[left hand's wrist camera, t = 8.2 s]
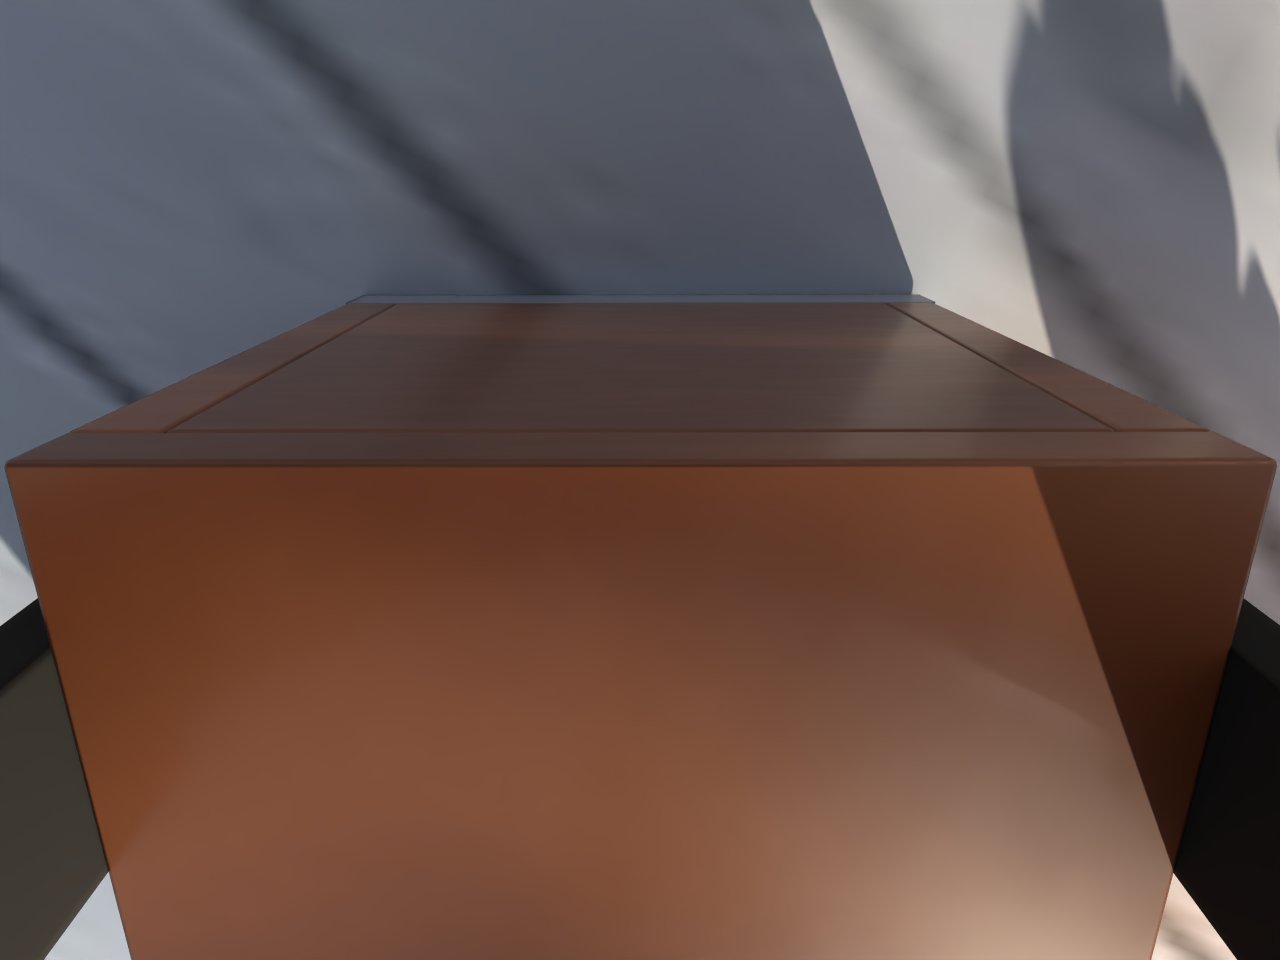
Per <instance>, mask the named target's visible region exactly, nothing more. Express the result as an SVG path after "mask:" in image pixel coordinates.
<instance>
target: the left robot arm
mask: <svg viewBox="0 0 1280 960" xmlns="http://www.w3.org/2000/svg"><path fill="white" fill-rule="evenodd" d="M107 873H108V867H107V863H106V859H105V855H104V851H103V847H102V843H101V840H100V836H99V832H98V828H97V824H96V820H95V816H94V813H93V809H92V805H91V801H90V797H89V793H88V789H87V785H86V782H85V778H84V774H83V770H82V766H81V762H80V758H79V754H78V751H77V747H76V743H75V739H74V735H73V731H72V727H71V723H70V720H69V716H68V712H67V708H66V704H65V700H64V696H63V692H62V689H61V685H60V681H59V677H58V673H57V669H56V665H55V661H54V658H53V654H52V650H51V646H50V642H49V638H48V634H47V630H46V627H45V623H44V619H43V615H42V611H41V607H40V603H39V599H38V598H37V599H36V600H35V601H33V602H32V603H31V604H29V605H28V606H27V607H25V608H24V609H23V610H21V611H20V612H19V613H17V614H16V615H15V616H13V617H12V618H11V619H9V620H8V621H7V622H5V623H4V624H3V625H1V626H0V960H44V959H45V957H46V956H47V955H48V953H49V952H50V951H51V949H52V948H53V946H54V945H55V944H56V942H57V941H58V940H59V938H60V937H61V936H62V934H63V933H64V931H65V930H66V929H67V927H68V926H69V925H70V923H71V922H72V921H73V919H74V918H75V916H76V915H77V914H78V912H79V911H80V910H81V908H82V907H83V906H84V904H85V903H86V901H87V900H88V899H89V897H90V896H91V895H92V893H93V892H94V891H95V889H96V888H97V886H98V885H99V884H100V882H101V881H102V880H103V878H104V877H105V876H106V874H107ZM1173 873H1174V874H1175V876H1176V877H1177V878H1178V880H1179V881H1180V882H1181V884H1182V885H1183V886H1184V888H1185V889H1186V891H1187V892H1188V893H1189V895H1190V896H1191V897H1192V899H1193V900H1194V901H1195V903H1196V904H1197V906H1198V907H1199V908H1200V910H1201V911H1202V912H1203V914H1204V915H1205V916H1206V918H1207V919H1208V921H1209V922H1210V923H1211V925H1212V926H1213V927H1214V929H1215V930H1216V931H1217V933H1218V934H1219V936H1220V937H1221V938H1222V940H1223V941H1224V942H1225V944H1226V945H1227V946H1228V948H1229V949H1230V951H1231V952H1232V953H1233V955H1234V956H1235V957H1236V959H1237V960H1280V625H1278V624H1277V623H1276V622H1274V621H1273V620H1272V619H1270V618H1269V617H1268V616H1266V615H1265V614H1264V613H1262V612H1261V611H1260V610H1258V609H1257V608H1256V607H1254V606H1253V605H1252V604H1250V603H1249V602H1248V601H1246V600H1245V599H1244V598H1243V601H1242V605H1241V609H1240V613H1239V617H1238V621H1237V625H1236V629H1235V633H1234V637H1233V641H1232V644H1231V648H1230V652H1229V656H1228V660H1227V664H1226V668H1225V672H1224V676H1223V680H1222V684H1221V688H1220V692H1219V695H1218V699H1217V703H1216V707H1215V711H1214V715H1213V719H1212V723H1211V727H1210V731H1209V735H1208V739H1207V743H1206V746H1205V750H1204V754H1203V758H1202V762H1201V766H1200V770H1199V774H1198V778H1197V782H1196V786H1195V790H1194V794H1193V797H1192V801H1191V805H1190V809H1189V813H1188V817H1187V821H1186V825H1185V829H1184V833H1183V837H1182V841H1181V844H1180V848H1179V852H1178V856H1177V860H1176V864H1175V868H1174V872H1173Z"/></svg>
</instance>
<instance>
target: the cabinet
mask: <svg viewBox="0 0 1280 960" xmlns="http://www.w3.org/2000/svg"><path fill="white" fill-rule="evenodd" d="M1276 468H1277V464H1276V461H1275V460H1274V459H1272V458H1270V457H1268V456H1266V455H1263V454H1261V453H1259V452H1257V451H1255V450H1253V449H1250V448H1248V447H1246V446H1244V445H1242V444H1239V443H1237V442H1235V441H1233V440H1231V439H1229V438H1226V437H1224V436H1222V435H1220V434H1218V433H1215V432H1211V431H1210V430H1209V429H1207V428H1204V427H1202V426H1200V425H1198V424H1196V423H1194V422H1191V421H1189V420H1187V419H1185V418H1183V417H1180V416H1178V415H1176V414H1174V413H1172V412H1170V411H1167V410H1165V409H1163V408H1161V407H1159V406H1156V405H1154V404H1152V403H1150V402H1148V401H1146V400H1143V399H1141V398H1139V397H1137V396H1135V395H1132V394H1130V393H1128V392H1126V391H1124V390H1122V389H1119V388H1117V387H1115V386H1113V385H1111V384H1108V383H1106V382H1104V381H1102V380H1100V379H1098V378H1095V377H1093V376H1091V375H1089V374H1087V373H1085V372H1082V371H1080V370H1078V369H1076V368H1074V367H1071V366H1069V365H1067V364H1065V363H1063V362H1061V361H1058V360H1056V359H1054V358H1052V357H1050V356H1047V355H1045V354H1043V353H1041V352H1039V351H1037V350H1034V349H1032V348H1030V347H1028V346H1026V345H1023V344H1021V343H1019V342H1017V341H1015V340H1013V339H1010V338H1008V337H1006V336H1004V335H1002V334H999V333H997V332H995V331H993V330H991V329H989V328H986V327H984V326H982V325H980V324H978V323H976V322H973V321H971V320H969V319H967V318H965V317H962V316H960V315H958V314H956V313H954V312H952V311H949V310H947V309H945V308H943V307H941V306H938V305H936V304H935V302H934V301H932V300H930V299H928V298H925V297H923V296H921V295H363V296H360V297H358V298H356V299H354V300H352V301H349V302H347V303H346V305H344V306H342V307H340V308H338V309H336V310H334V311H331V312H329V313H327V314H325V315H323V316H321V317H318V318H316V319H314V320H312V321H310V322H307V323H305V324H303V325H301V326H299V327H297V328H294V329H292V330H290V331H288V332H286V333H284V334H281V335H279V336H277V337H275V338H273V339H270V340H268V341H266V342H264V343H262V344H260V345H257V346H255V347H253V348H251V349H249V350H247V351H244V352H242V353H240V354H238V355H236V356H234V357H231V358H229V359H227V360H225V361H223V362H220V363H218V364H216V365H214V366H212V367H210V368H207V369H205V370H203V371H201V372H199V373H197V374H194V375H192V376H190V377H188V378H186V379H183V380H181V381H179V382H177V383H175V384H173V385H170V386H168V387H166V388H164V389H162V390H160V391H157V392H155V393H153V394H151V395H149V396H147V397H144V398H142V399H140V400H138V401H136V402H133V403H131V404H129V405H127V406H125V407H123V408H120V409H118V410H116V411H114V412H112V413H110V414H107V415H105V416H103V417H101V418H99V419H96V420H94V421H92V422H90V423H88V424H86V425H83V426H81V427H79V428H77V429H75V430H73V431H71V432H70V433H67V434H65V435H63V436H61V437H58V438H56V439H54V440H52V441H50V442H48V443H45V444H43V445H41V446H39V447H37V448H35V449H32V450H30V451H28V452H26V453H24V454H21V455H19V456H17V457H15V458H13V459H11V460H8V461H7V462H6V463H5V472H6V476H7V479H8V483H9V487H10V491H11V495H12V499H13V503H14V507H15V510H16V514H17V518H18V522H19V526H20V530H21V534H22V537H23V541H24V545H25V549H26V553H27V557H28V561H29V565H30V568H31V572H32V576H33V580H34V584H35V588H36V592H37V596H38V599H39V603H40V607H41V611H42V615H43V619H44V623H45V627H46V630H47V634H48V638H49V642H50V646H51V650H52V654H53V658H54V661H55V665H56V669H57V673H58V677H59V681H60V685H61V689H62V692H63V696H64V700H65V704H66V708H67V712H68V716H69V720H70V723H71V727H72V731H73V735H74V739H75V743H76V747H77V751H78V754H79V758H80V762H81V766H82V770H83V774H84V778H85V782H86V785H87V789H88V793H89V797H90V801H91V805H92V809H93V813H94V816H95V820H96V824H97V828H98V832H99V836H100V840H101V843H102V847H103V851H104V855H105V859H106V863H107V867H108V871H109V874H110V878H111V882H112V886H113V890H114V894H115V898H116V902H117V905H118V909H119V913H120V917H121V921H122V925H123V929H124V933H125V936H126V940H127V944H128V948H129V952H130V956H131V960H1151V958H1152V954H1153V950H1154V946H1155V943H1156V939H1157V935H1158V931H1159V927H1160V923H1161V919H1162V915H1163V911H1164V907H1165V903H1166V899H1167V895H1168V892H1169V888H1170V884H1171V880H1172V876H1173V872H1174V868H1175V864H1176V860H1177V856H1178V852H1179V848H1180V844H1181V841H1182V837H1183V833H1184V829H1185V825H1186V821H1187V817H1188V813H1189V809H1190V805H1191V801H1192V797H1193V794H1194V790H1195V786H1196V782H1197V778H1198V774H1199V770H1200V766H1201V762H1202V758H1203V754H1204V750H1205V746H1206V743H1207V739H1208V735H1209V731H1210V727H1211V723H1212V719H1213V715H1214V711H1215V707H1216V703H1217V699H1218V695H1219V692H1220V688H1221V684H1222V680H1223V676H1224V672H1225V668H1226V664H1227V660H1228V656H1229V652H1230V648H1231V644H1232V641H1233V637H1234V633H1235V629H1236V625H1237V621H1238V617H1239V613H1240V609H1241V605H1242V601H1243V597H1244V593H1245V590H1246V586H1247V582H1248V578H1249V574H1250V570H1251V566H1252V562H1253V558H1254V554H1255V550H1256V546H1257V542H1258V539H1259V535H1260V531H1261V527H1262V523H1263V519H1264V515H1265V511H1266V507H1267V503H1268V499H1269V495H1270V491H1271V488H1272V484H1273V480H1274V476H1275V472H1276Z"/></svg>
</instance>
